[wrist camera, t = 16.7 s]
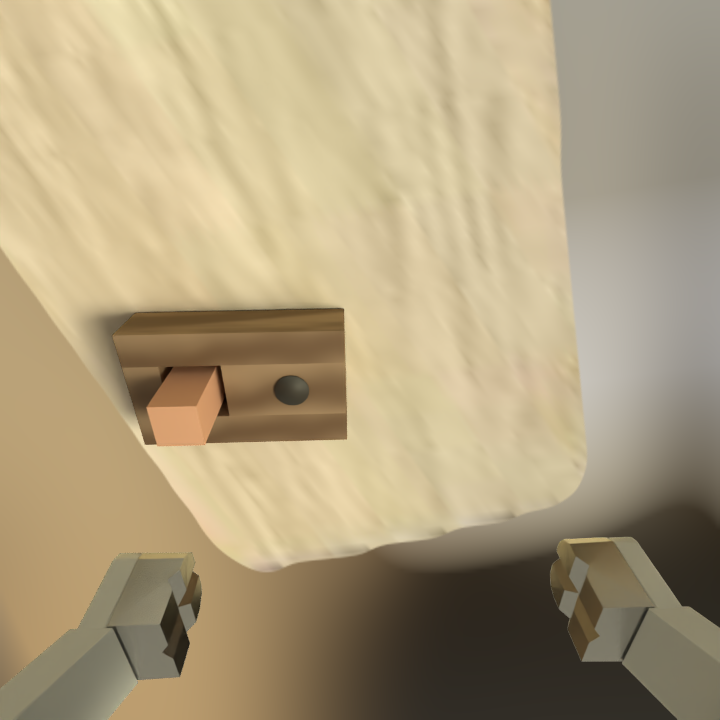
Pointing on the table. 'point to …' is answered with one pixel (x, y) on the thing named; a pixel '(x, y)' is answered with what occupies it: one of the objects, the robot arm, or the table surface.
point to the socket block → (246, 369)
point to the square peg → (186, 405)
